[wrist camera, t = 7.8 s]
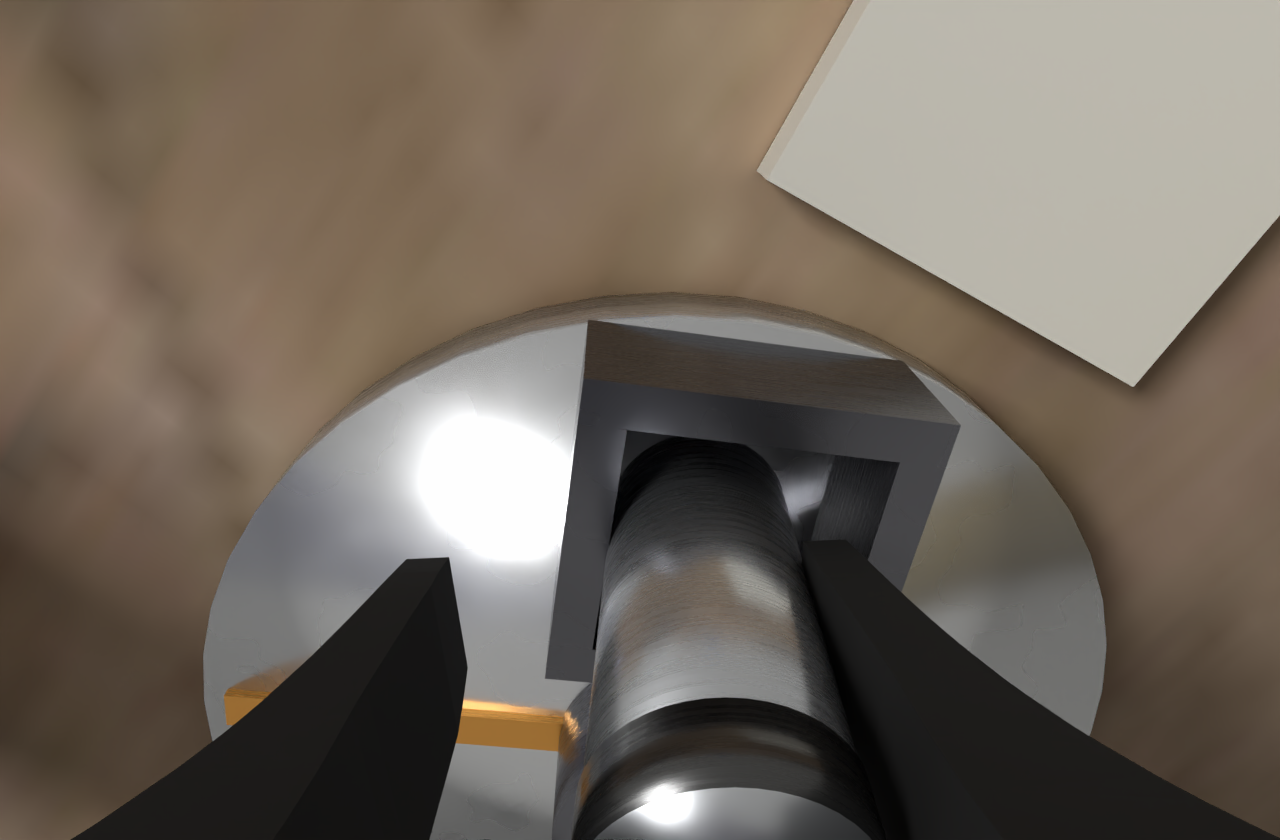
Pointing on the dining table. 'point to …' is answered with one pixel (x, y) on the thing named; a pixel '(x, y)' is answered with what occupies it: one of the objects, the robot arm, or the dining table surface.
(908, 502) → the collar wheel
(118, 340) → the dining table surface
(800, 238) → the dining table surface
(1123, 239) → the rest
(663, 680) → the shiny metal cylinder
